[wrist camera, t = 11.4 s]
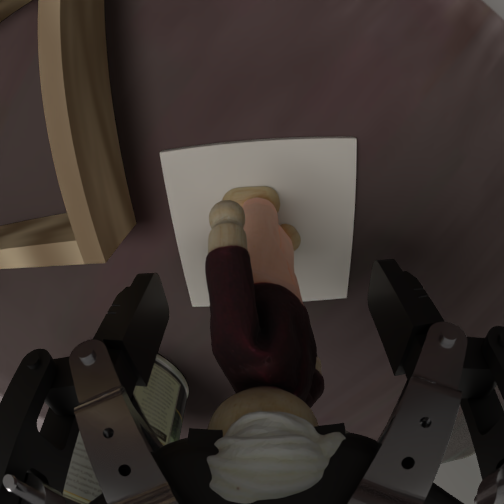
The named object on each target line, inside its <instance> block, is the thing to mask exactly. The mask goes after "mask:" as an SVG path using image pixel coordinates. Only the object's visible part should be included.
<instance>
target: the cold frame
mask: <svg viewBox="0 0 504 504" xmlns="http://www.w3.org/2000/svg"><path fill="white" fill-rule="evenodd" d="M30 1H32V0H0V22H1V21H3V20H4V19H5V18H7V17H8V16H9V15H11V14H12V13H14V12H15V11H17V10H18V9H20V8H21V7H23V6H24V5H26V4H27V3H29V2H30ZM38 54H39V69H40V81H41V90H42V99H43V106H44V113H45V120H46V126H47V131H48V137H49V142H50V147H51V152H52V157H53V161H54V166H55V170H56V174H57V178H58V182H59V186H60V190H61V193H62V197H63V200H64V204H65V207H66V211H67V213H64V214H58V215H53V216H47V217H42V218H37V219H32V220H27V221H22V222H17V223H12V224H7V225H3V226H0V269H8V268H25V267H43V266H60V265H78V264H95V263H106V262H107V261H108V259H109V258H110V257H111V255H112V254H113V253H114V251H115V250H116V249H117V248H118V246H119V245H120V244H121V242H122V241H123V240H124V239H125V237H126V236H127V235H128V234H129V232H130V231H131V230H132V229H133V227H134V226H135V225H136V224H137V223H136V220H135V216H134V211H133V207H132V203H131V199H130V195H129V190H128V186H127V181H126V176H125V172H124V167H123V162H122V157H121V151H120V146H119V140H118V135H117V129H116V123H115V116H114V110H113V103H112V95H111V87H110V79H109V70H108V59H107V48H106V33H105V12H104V0H39V1H38Z"/></svg>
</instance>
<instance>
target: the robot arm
mask: <svg viewBox="0 0 504 504" xmlns="http://www.w3.org/2000/svg"><path fill="white" fill-rule="evenodd" d="M368 306H369V310H370V313H371V315H372V318H373V320H374V323H375V325H376V328H377V330H378V333H379V335H380V338H381V341H382V343H383V346H384V348H385V351H386V354H387V356H388V359H389V362H390V365H391V367H392V370H393V373H394V376H397V375H402V374H406V377H407V381H406V383H405V386H404V388H403V390H402V392H401V395H400V397H399V399H398V401H397V404H396V406H395V408H394V410H393V412H392V414H391V416H390V418H389V420H388V422H387V424H386V426H385V428H384V430H383V432H382V433H381V435H380V437H379V439H378V440H377V441H375V440H373V439H371V438H368V437H366V436H362V435H359V434H354V433H346V432H345V426H344V423H340V424H332V425H324V426H315V427H314V428H315V430H316V431H317V433H319V434H321V435H326V434H329V433H332V432H340V433H341V434H342V435H343V436H345V438H346V439H344V440H343V441H342V442H341V444H340V445H339V447H338V449H337V450H336V452H335V454H334V455H333V456H331V457H330V459H329V464H328V466H327V467H326V468H325V469H324V472H323V476H322V478H321V479H320V480H319V482H317V483H316V484H315V485H313V486H312V487H311V488H309V489H307V490H304V491H302V492H300V493H296V494H293V495H290V496H287V497H283V498H278V499H266V500H257V501H255V502H253V503H248V504H464V503H462V502H461V501H459V500H458V499H456V498H455V497H453V496H452V495H450V494H449V493H447V492H446V491H444V490H443V489H442V488H440V487H439V486H437V485H436V484H435V483H433V481H434V479H435V476H436V474H437V472H438V469H439V467H440V464H441V462H442V459H443V456H444V454H445V451H446V448H447V445H448V442H449V439H450V436H451V433H452V430H453V427H454V424H455V420H456V417H457V413H458V410H459V406H460V405H461V407H462V410H463V413H464V416H465V419H466V422H467V425H468V429H469V432H470V435H471V438H472V442H473V445H474V449H475V452H476V456H477V460H478V464H479V468H480V472H481V476H482V482H481V484H480V485H479V488H478V492H477V495H476V497H475V499H474V503H475V504H504V411H503V408H502V406H501V403H500V401H499V399H498V396H497V394H496V392H495V389H494V388H495V387H496V385H498V388H499V390H500V392H501V395H502V397H503V399H504V327H502V326H496V327H493V328H491V329H490V330H489V332H488V334H487V336H486V338H475V337H467V336H466V334H465V332H464V331H463V330H462V329H461V328H460V327H459V326H457V325H455V324H453V323H450V322H444V320H443V318H442V317H441V315H440V313H439V312H438V310H437V308H436V307H435V305H434V304H433V302H432V301H431V299H430V297H428V294H427V293H426V291H425V290H424V289H423V287H422V285H421V284H420V282H419V281H418V279H417V278H416V277H414V276H413V275H411V274H410V273H409V272H407V271H402V270H401V268H400V267H399V265H398V264H397V262H396V261H395V260H394V259H387V260H375V261H374V263H373V266H372V272H371V279H370V285H369V291H368ZM168 320H169V307H168V303H167V300H166V296H165V293H164V290H163V287H162V283H161V280H160V277H159V275H158V274H157V273H145V274H138V275H137V276H136V277H135V279H134V281H133V283H132V284H131V286H130V287H126V288H125V289H124V290H123V291H122V292H120V293H119V294H118V295H117V297H116V298H115V300H114V302H113V304H112V306H111V307H110V309H109V311H108V314H106V316H105V318H104V320H103V321H102V323H101V325H100V327H99V329H98V331H97V333H96V334H95V336H94V338H93V340H87V341H84V342H82V343H80V344H79V345H77V346H76V347H75V348H74V349H73V351H72V352H71V354H70V356H69V357H64V358H58V359H53V358H52V357H51V355H50V354H49V352H48V351H47V350H45V349H36V350H33V351H31V352H30V353H28V354H27V355H26V356H25V357H24V358H23V360H22V361H21V363H20V365H19V367H18V369H17V371H16V373H15V374H14V376H13V378H12V380H11V382H10V384H9V386H8V388H7V390H6V392H5V394H4V396H3V398H2V401H1V403H0V504H66V501H65V498H64V496H63V491H64V486H65V482H66V478H67V474H68V470H69V466H70V462H71V459H72V455H73V451H74V448H75V444H76V441H77V437H78V434H79V431H80V434H81V437H82V440H83V443H84V446H85V449H86V452H87V455H88V457H89V460H90V463H91V466H92V468H93V471H94V473H95V476H96V478H97V481H98V483H99V486H100V488H101V490H102V494H100V495H99V496H98V497H96V498H95V499H94V500H92V501H91V502H90V503H88V504H242V503H237V502H232V501H228V500H226V499H224V498H222V497H221V496H220V495H219V494H217V493H216V492H215V491H213V490H212V489H211V488H210V487H209V486H210V482H211V480H212V474H211V471H210V467H209V465H208V462H207V457H208V456H212V455H217V454H218V453H219V449H218V448H217V447H216V446H215V445H214V444H215V442H216V441H217V440H218V439H220V438H222V437H223V431H222V430H210V429H192V428H189V434H188V438H185V439H181V440H177V441H174V442H171V443H168V444H166V445H164V446H163V445H162V443H161V442H160V441H159V439H158V438H157V436H156V434H155V433H154V431H153V429H152V427H151V425H150V424H149V422H148V420H147V418H146V416H145V414H144V412H143V410H142V408H141V406H140V404H139V402H138V400H137V398H136V396H135V395H134V393H133V392H134V389H135V386H144V387H147V385H148V382H149V378H150V375H151V372H152V369H153V366H154V362H155V359H156V356H157V353H158V350H159V347H160V344H161V341H162V338H163V335H164V332H165V329H166V326H167V323H168ZM44 402H45V403H46V404H47V405H48V406H49V409H48V412H47V414H46V417H45V420H44V423H43V425H42V428H41V431H40V433H39V432H38V429H37V419H38V416H39V414H40V411H41V409H42V406H43V404H44Z"/></svg>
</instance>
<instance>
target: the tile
mask: <svg viewBox="0 0 504 504" xmlns="http://www.w3.org/2000/svg"><path fill="white" fill-rule="evenodd" d="M356 148H357V139H356V138H355V137H346V136H328V137H290V138H271V139H256V140H243V141H232V142H222V143H213V144H204V145H196V146H189V147H181V148H175V149H168V150H163V151H161V152H160V158H161V164H162V170H163V175H164V181H165V186H166V192H167V197H168V202H169V207H170V212H171V217H172V222H173V226H174V231H175V236H176V240H177V245H178V249H179V254H180V258H181V262H182V266H183V271H184V275H185V279H186V283H187V287H188V291H189V295H190V299H191V303H192V307H202V306H210V301H209V293H208V288H207V281H206V274H205V261H206V257H207V255H208V237H209V233H210V231H211V230H212V229H211V227H210V223H209V213H210V211H211V209H212V207H213V206H214V205H215V204H216V203H218V202H220V201H222V199H223V197H224V195H225V194H226V193H227V192H228V191H229V190H231V189H234V188H240V187H257V186H267V187H270V188H272V189H274V190H275V191H276V192H277V194H278V196H279V199H280V209H279V211H278V213H277V215H278V224H279V225H281V224H289V225H292V226H293V227H295V229H296V230H297V231H298V233H299V235H300V238H301V243H300V245H299V247H298V248H297V249H296V250H295V251H294V273H295V275H296V277H297V281H298V285H299V289H300V293H301V297H302V302H303V301H316V300H329V299H340V298H347V290H348V281H349V272H350V262H351V252H352V240H353V227H354V211H355V191H356Z"/></svg>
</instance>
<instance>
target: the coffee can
mask: <svg viewBox="0 0 504 504" xmlns="http://www.w3.org/2000/svg"><path fill="white" fill-rule="evenodd" d="M133 393H134V395H135V396H136V398H137V400H138V402H139V404H140V406H141V408H142V410H143V412H144V414H145V416H146V418H147V420H148V422H149V424H150V425H151V427H152V429H153V431H154V433H155V434H156V436H157V438H158V439H159V441H160V442H161V443H162V445H163V446H164V445H166V444H168V443H171V442H174V441H177V440H179V438H180V433H181V427H182V422H183V417H184V410H185V405H186V400H187V398H188V394H189V388H188V384H187V382H186V380H185V378H184V376H183V375H182V374H181V372H180V371H179V370H178V369H177V368H176V367H175V366H174V365H173V364H171V363H170V362H169V361H168V360H166V359H165V358H163V357H162V356H160V355H158V354H157V356H156V359H155V362H154V366H153V369H152V372H151V375H150V378H149V382H148V385H147V387H144V386H135V389H134V392H133ZM100 494H102V490H101V488H100V486H99V483H98V481H97V478H96V476H95V473H94V471H93V468H92V466H91V463H90V460H89V457H88V455H87V452H86V449H85V446H84V443H83V440H82V437H81V434H80V431H79V434H78V437H77V441H76V444H75V448H74V451H73V455H72V459H71V462H70V466H69V470H68V474H67V478H66V482H65V486H64V491H63V496H64V498H65V501H66V504H88V503H90V502H91V501H92V500H94V499H95V498H96V497H98V496H99V495H100Z"/></svg>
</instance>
